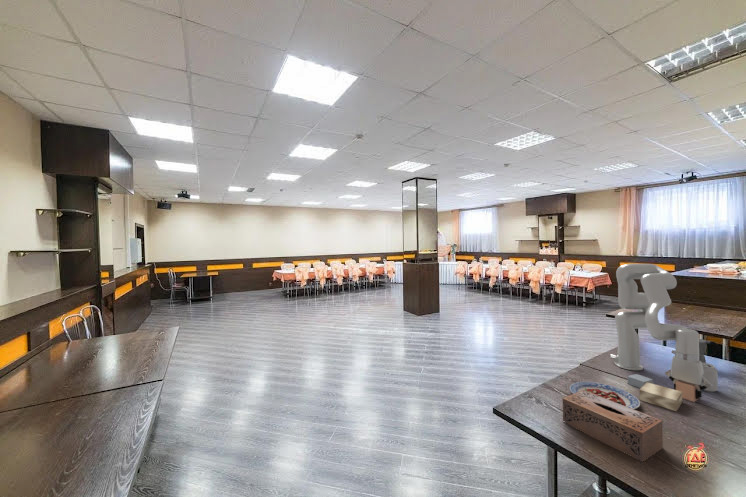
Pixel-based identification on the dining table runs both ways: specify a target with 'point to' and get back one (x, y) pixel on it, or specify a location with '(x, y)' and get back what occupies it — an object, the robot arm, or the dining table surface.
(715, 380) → the can
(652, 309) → the robot arm
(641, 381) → the slate block
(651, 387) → the beech block
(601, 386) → the ceramic plate
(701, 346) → the coffeepot
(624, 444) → the tissue box cover
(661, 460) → the dining table surface
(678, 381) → the terracotta cube
